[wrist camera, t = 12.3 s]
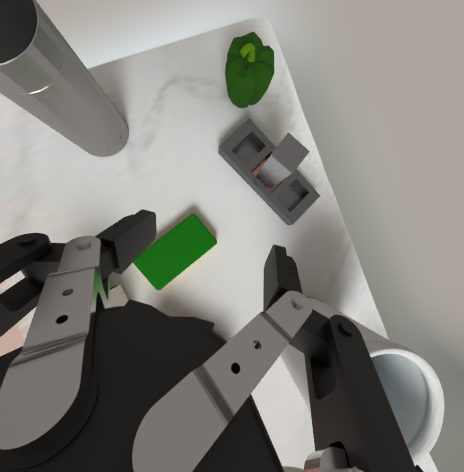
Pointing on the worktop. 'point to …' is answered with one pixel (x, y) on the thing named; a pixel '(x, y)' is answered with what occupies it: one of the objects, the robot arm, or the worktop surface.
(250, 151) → the peg hole block
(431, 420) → the utensil holder
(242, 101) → the bell pepper
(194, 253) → the dish sponge
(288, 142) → the steel peg
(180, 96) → the worktop surface
